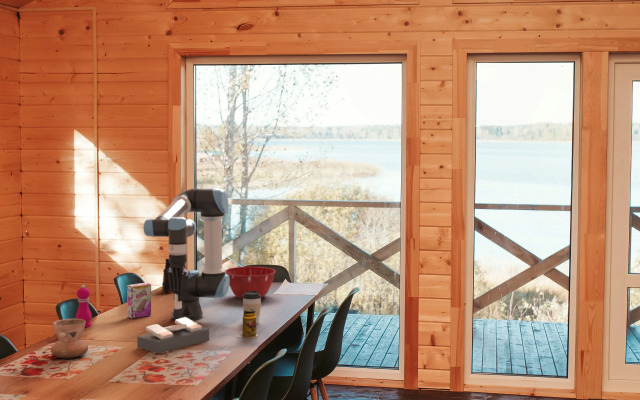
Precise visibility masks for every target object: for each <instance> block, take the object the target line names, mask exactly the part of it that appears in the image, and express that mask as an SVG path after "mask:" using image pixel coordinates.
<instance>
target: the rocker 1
mask: <svg viewBox="0 0 640 400" xmlns="http://www.w3.org/2000/svg"><path fill="white" fill-rule="evenodd" d="M144 330H145V331H147V332H149V334H150V333H152V336H157V337H158V338H160V339H161V340H162V339H166V338H170V337H173V333H171V332H170V331H168V330H166V329H165V328H164V327H163V326H161V325H160V324H158V323H155V324H151V325H147V326H145V329H144Z"/></svg>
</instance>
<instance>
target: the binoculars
mask: <svg viewBox="0 0 640 400" xmlns="http://www.w3.org/2000/svg"><path fill="white" fill-rule="evenodd" d="M170 265H171V263H169V258H165V265H164V269H163V271H162V272H163V273H162V274H163V275H162V288H161V294H164V295H171V294H172V295H174V293H173V292H172V291H170V285H169V279H168V274H167V271H166V269H169V268H170Z"/></svg>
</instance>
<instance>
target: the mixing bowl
mask: <svg viewBox="0 0 640 400" xmlns="http://www.w3.org/2000/svg"><path fill="white" fill-rule="evenodd" d="M275 273H276V270H275V269H274V268H269V267H264V266H237V267H235V266H234V267H230V268H227V269H225V274H227V275H229V278H230V282H229V288H230V290H231V291H232V294H234V296H235V297H237V298H238V299H240V300H243V298H242V297H243V295H244V294H245V292H250V291H256V292H258V293H259V294H260V295H261V299H262V298H263V297H265V296H266V295H267V294H268V293H269V290H270V289H271V286H272V284H273V280H274V278H275Z"/></svg>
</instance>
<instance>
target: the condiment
mask: <svg viewBox="0 0 640 400" xmlns="http://www.w3.org/2000/svg"><path fill="white" fill-rule="evenodd" d="M242 315H243V316H242V333H240V334H239V335H237V336H236V338H243V339H255V338H257V337H258V336H260V333H259V334H258V333H257V324H256V316H255V310H254V309H246V310H243V314H242Z"/></svg>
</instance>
